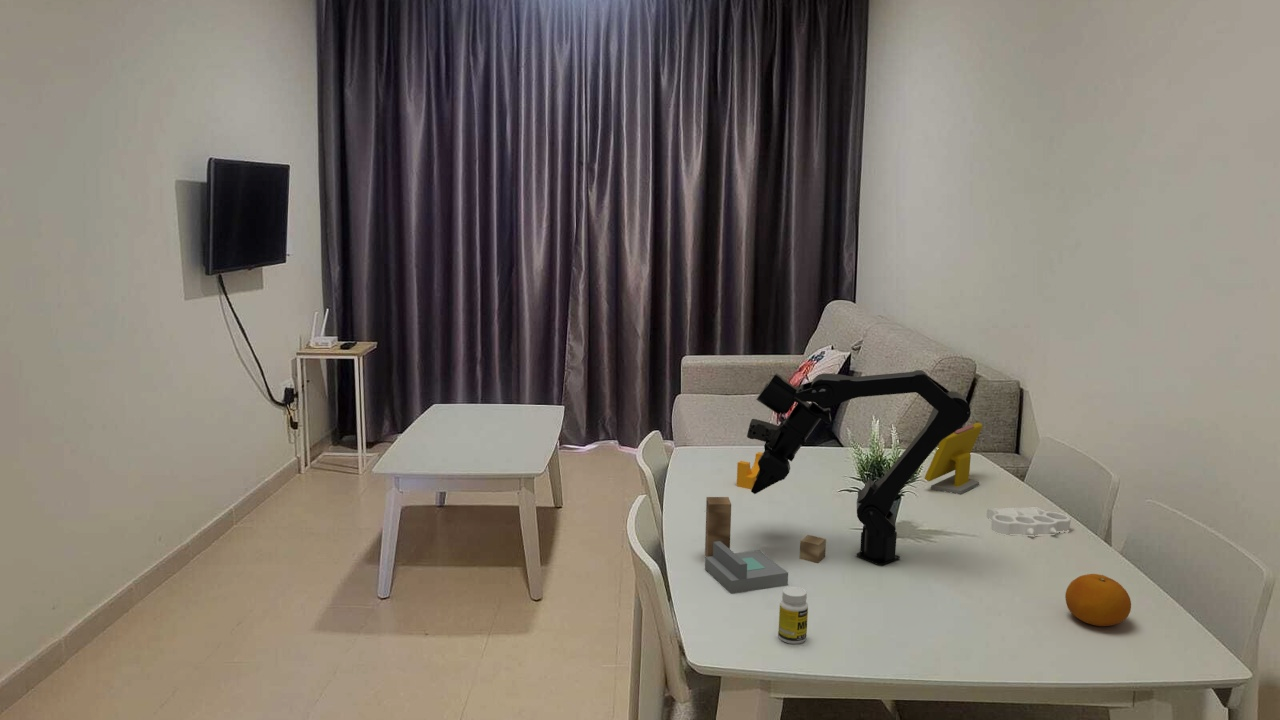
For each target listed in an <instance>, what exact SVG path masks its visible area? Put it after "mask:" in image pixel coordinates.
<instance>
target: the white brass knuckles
mask: <svg viewBox="0 0 1280 720" xmlns="http://www.w3.org/2000/svg"><path fill="white" fill-rule="evenodd" d="M986 517H987V519H988V518H990V519H991V520H992V521H991V520H990V521H991V524H990V525H991V527H990V530H991V529H992V530H993V531H995V532H997V533H1001V534H1006V535H1010V534H1022V535H1034V536H1035V535H1038V534H1056V533H1057V531H1063V530H1064V531H1067V530H1069V529H1070V528H1071V517H1070V516H1068V515H1066V514H1064V513H1061V512H1057V511H1056V512H1055V511H1047V510H1043V509H1042V508H1040V507H1037V506H1031V507H1007V508H1005V507H1004V508H993V507H990V508H989V509H987V510H986ZM992 530H991V531H992ZM993 531H992V532H993ZM1069 531H1070V530H1069ZM995 532H994V533H995ZM997 533H996V534H997ZM1056 535H1057V534H1056Z"/></svg>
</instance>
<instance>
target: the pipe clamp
mask: <svg viewBox="0 0 1280 720" xmlns="http://www.w3.org/2000/svg"><path fill="white" fill-rule="evenodd" d="M762 454H763V452H761V451H758V452H757V453H755V458H754V462H753V464H752V465H753V466H752V468H751V462H748V461H745V460H744V461H743V460H739V461H737V463H736V464H737V466H736V468H737V470H736V487H739V488H742V489H747V490H752V487H753V485H754V483H755V481H756V476H757V474H758V472H759V466H758V461H759V458H760V457H761V455H762Z"/></svg>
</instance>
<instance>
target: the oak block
mask: <svg viewBox="0 0 1280 720" xmlns="http://www.w3.org/2000/svg"><path fill="white" fill-rule="evenodd" d="M799 543H800V544H799V560H803V561H807V562H811V563H816V564H819V563H820V562H822V560H823V559H825V558H826V550H827V545H826V544H827V538H823V537H819V536H814V535H809V534H807V535H806V536H805V537H803V538H802V539H801V540H800V542H799Z"/></svg>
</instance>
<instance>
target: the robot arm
mask: <svg viewBox="0 0 1280 720" xmlns="http://www.w3.org/2000/svg"><path fill="white" fill-rule="evenodd" d="M912 393H916V394H917V395H919V396H920V397H922V398H923V399H924V400H925V401H926V402H927V403H928V404H929V405H930V406H931V407H933V408H932V409H931V412H930V413H929V417H928V419H927V420H926V423H925V425H924V426H923V428H922V429H921V430H920V432H919V433H918V434H917V435H916V436H915V438H914V439H913V440H912V441H911V442H910V444H909V445H908V446H906V449H905V450H904V451H903V452H902V454H901V455H899V457H898V458H897V459H896V461H895V462H894V464H892V466H891V467H890V468H889V469H888V471H887V472H886V473H885V474H884V475H883V476H882V477H881V478H880V479H878V480H876V481H873V480H872V479H871V478H868V480H867V481H866V483H865V484H864V486H863V488H862V489H860V490H858V491H857V498H856V517H857V519H858V521H859V522H860V523H862V524H863V526H862V531H861V533H860V549H859V550H860V552H857V553H855V554H856V556H855V557H858V558H859V559H863V560H865V561H867V562H870V563H873V564H876V565H878V566H884V565H886V564H890V563H893V562H895V561H898V560H900V559H901V556H900V555H897V554H896V553H897V552H896V551H897V549H896V547H897V534H898V532H897V531H896V529H897V527H896V521H895V520H896V519H895V514H894V513H893V512H892V511H891V509H892V506H893V505H894V503H895V500H896V498H897V496H898V493H899V492H900V491H901V490H902V489H903V487H904V486H905V485H906V484H907V482H909V480H910V479H911V478H912V477H913V475H914V474H915V473H916V472H917V471H918V469H919V468H920V467H921V466H922V465H923V463H924V462H925V460H926V459H927V458H928V457H929V456H930V455H931V454H932V452H933V451H934V450H935V449H936V447H938V446H939V443H940V442H941V441H942V440H943V439H944V438H946V437H948V436H949V435H951V434H952V433H954V432H955V431H957V430H958V429H961V428H962V427H963V426H964V425H965V424H966V423H967V422H968V421H969V419H970V418H971V415H972V414H971V413H972V412H971V407H970V405H969V403H968V401H967V400H966V398H965V396H964V395H963V394H962V393H960V392H957V391H954V390H953V391H950V390H948V389H947V388H946V387H945V386H944V385H942V384H941V383H939V382H938V381H936V380H934V379H933V378H932V377H931V376H929V375H928V374H927V373H926V371H924V370H920V369H916V370H914V371H908V372H907V371H906V372H893V373H885V374H872V375H863V376H862V375H861V376H851V375H845V374H841V373H840V374H839V373H838V374H837V373H825V372H824V373H819V374H817V375H816V376H815V377H814V378H813V379H812V381H809V382H806V383H802V384H800V385H797V386H794V385H793V384H792V383H790V382H789V381H787V380H786V379H784V378H783V376H781V375H780V374H778V373H777V372H776V373H774V375H773V376H772V378H771V379H770V380H769V381H768V382H767V383H766V384H765V385H764V387H763V388H762V390H761V391H760V393H759V395H758V396H757V397H756V401H758V402H759V403H760V404H762V405H763V406H765V407H766V408H768V409H769V410H770V411H772V412H774V413H776V414H777V415H778V416H779V415H784V414H788V413H789V411H790V410H791V408H792V407H793V405H794V404H795V403H796V405H795V406H794V407H793V409H792V410H791V412H790V413H789V415H788V416H787V417H786V419H785V420H783V421H781V422H780V423H779V425H776V424H774V423H772V422H768V421H764V420H760V419H757V418H752V419H751V420H750V422H749V426H748V430H747V433H746V438H748V439H751V440H757V441H760V442H764V451H763V452H762V453H763V454H762V455H761V457H760V458H759V461H758V466H759V472H758V474H757V476H756V481H755V483H754V485H753V487H752V489H750V492H751V493H752V494H754V495H756V494H759V493H760V492H762V491H763V490H765V489H767V488H769V487H771V486H773V485H774V484H777V483H778V482H780V481H781V482H782V481H784V480H786V478H787V476H788V475H789V473H790V472H791V471H790V470H791V464H790V462H793V460H794V459H795V457H796V455H797V453H798V451H799V450H800V449H801V447H802V446H805V444H806V442H807V439H808V438H809V437H810V435H811V434H812V432H813V431H814V429H815V428H816V426H817V425H818V424H819V422H820V421H821V420H822V421H823V422H825V423H826V424H831V422H832V417H831V408H830V407H829V406H834V405H838V404H842V403H845V402H847V401H848V402H849V401H850V400H853V399H857V398H866V397H877V396H889V395H901V394H912ZM823 407H827V408H823Z"/></svg>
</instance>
